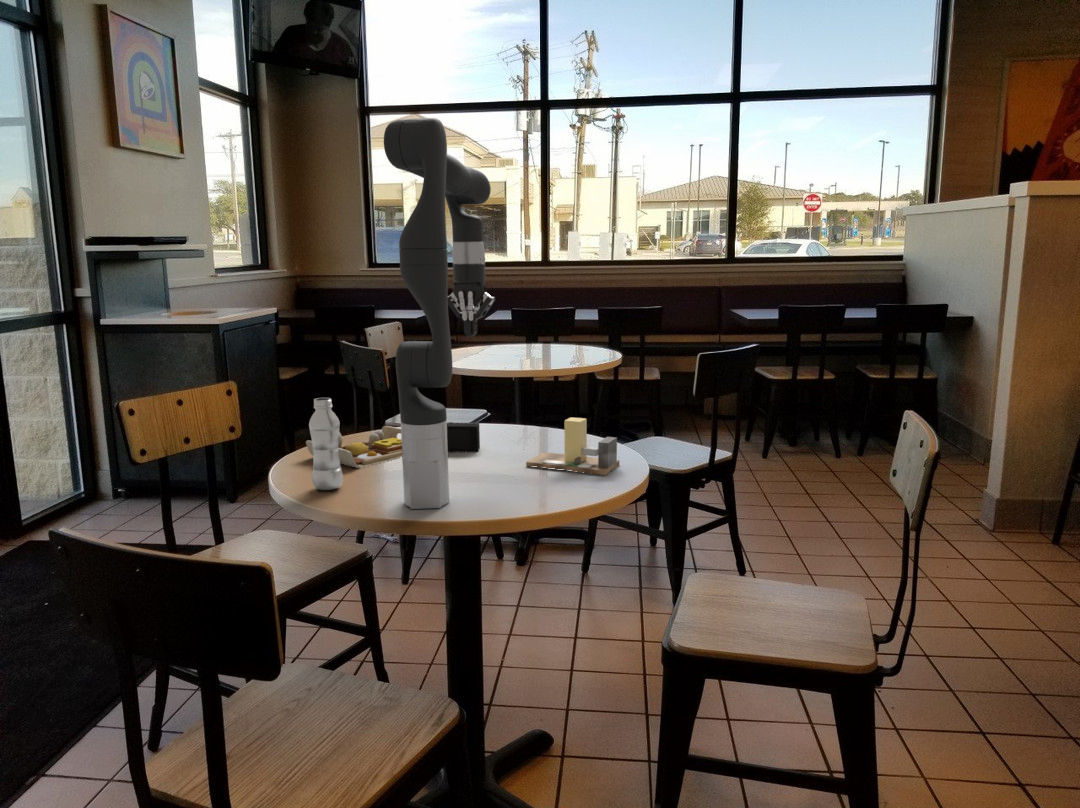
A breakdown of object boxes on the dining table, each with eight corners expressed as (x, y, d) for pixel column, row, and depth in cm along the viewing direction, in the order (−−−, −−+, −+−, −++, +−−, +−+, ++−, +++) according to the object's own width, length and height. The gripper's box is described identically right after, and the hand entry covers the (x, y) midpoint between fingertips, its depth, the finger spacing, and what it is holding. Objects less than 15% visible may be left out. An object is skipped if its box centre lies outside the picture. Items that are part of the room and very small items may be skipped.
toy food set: (350, 473, 187) (348, 441, 185) (305, 460, 198) (303, 431, 197) (429, 451, 206) (428, 423, 204) (385, 441, 217) (383, 414, 216)
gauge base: (526, 466, 189) (525, 437, 187) (543, 456, 198) (543, 428, 196) (604, 475, 180) (605, 445, 179) (619, 465, 189) (619, 435, 188)
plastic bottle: (331, 483, 177) (325, 395, 173) (349, 488, 173) (344, 398, 169) (306, 489, 172) (300, 399, 168) (325, 495, 168) (319, 403, 164)
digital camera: (481, 447, 208) (480, 421, 207) (478, 452, 203) (477, 425, 202) (442, 447, 209) (441, 421, 208) (438, 452, 204) (437, 425, 202)
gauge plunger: (561, 463, 186) (560, 422, 184) (571, 457, 191) (571, 417, 189) (591, 467, 182) (591, 425, 181) (600, 460, 188) (600, 419, 186)
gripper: (435, 262, 183) (438, 336, 186) (486, 262, 178) (487, 338, 181) (452, 261, 190) (454, 333, 193) (501, 261, 184) (502, 335, 188)
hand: (470, 336), depth 187 cm, fingers closed
